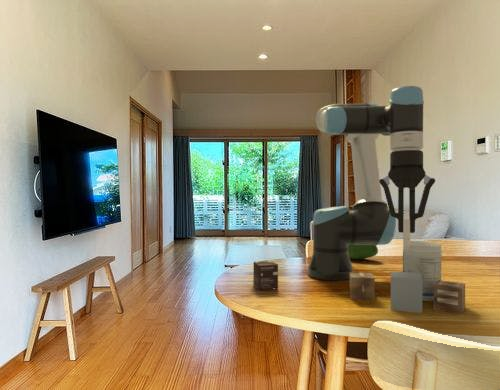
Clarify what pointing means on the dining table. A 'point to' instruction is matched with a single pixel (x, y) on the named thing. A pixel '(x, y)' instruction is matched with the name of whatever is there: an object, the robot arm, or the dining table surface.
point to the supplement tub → (424, 264)
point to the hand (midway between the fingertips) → (406, 245)
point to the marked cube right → (449, 296)
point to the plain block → (406, 291)
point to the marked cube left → (362, 286)
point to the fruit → (362, 251)
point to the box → (265, 275)
